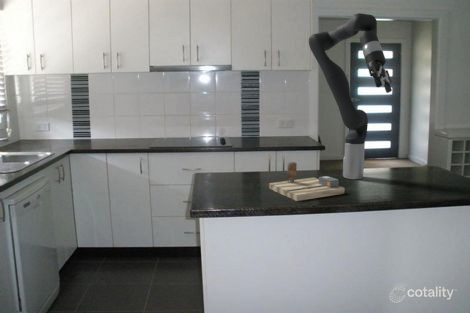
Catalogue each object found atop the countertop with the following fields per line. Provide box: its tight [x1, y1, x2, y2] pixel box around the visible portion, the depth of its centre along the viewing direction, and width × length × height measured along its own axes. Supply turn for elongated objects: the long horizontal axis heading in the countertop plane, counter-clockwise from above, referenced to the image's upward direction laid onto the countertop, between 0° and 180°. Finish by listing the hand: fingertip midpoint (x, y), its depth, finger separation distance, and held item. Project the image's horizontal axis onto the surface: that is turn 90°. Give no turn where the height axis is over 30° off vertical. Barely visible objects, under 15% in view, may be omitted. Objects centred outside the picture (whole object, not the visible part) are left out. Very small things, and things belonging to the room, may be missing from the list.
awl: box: [286, 161, 298, 183], centre depth 190 cm, size 4×4×11 cm
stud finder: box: [318, 175, 340, 188], centre depth 184 cm, size 8×4×3 cm, turn 26°
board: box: [268, 176, 345, 202], centre depth 184 cm, size 22×24×3 cm
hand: (384, 89), depth 170 cm, fingers open, 8 cm apart
